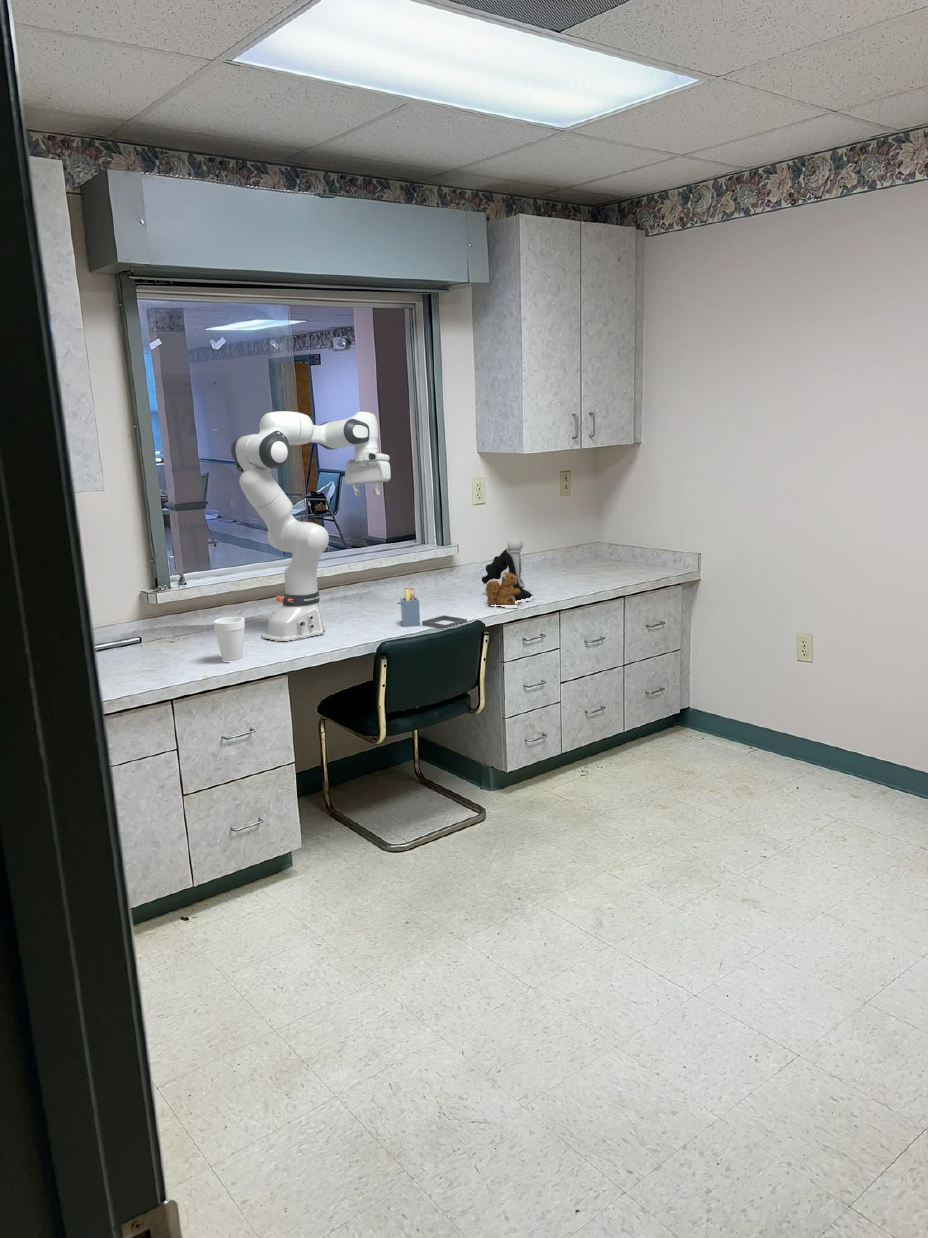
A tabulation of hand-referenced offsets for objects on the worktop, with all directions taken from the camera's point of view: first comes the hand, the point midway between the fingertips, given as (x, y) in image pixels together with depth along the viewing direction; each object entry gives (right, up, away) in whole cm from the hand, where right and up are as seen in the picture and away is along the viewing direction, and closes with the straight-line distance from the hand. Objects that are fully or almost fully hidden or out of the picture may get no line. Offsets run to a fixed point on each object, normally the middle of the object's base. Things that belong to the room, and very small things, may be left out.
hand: (367, 495), depth 337 cm
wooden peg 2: (+17, -47, -9) cm, 51 cm away
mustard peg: (+16, -47, -10) cm, 51 cm away
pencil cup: (+16, -48, -9) cm, 51 cm away
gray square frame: (+28, -48, -10) cm, 57 cm away
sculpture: (+52, -37, +34) cm, 73 cm away
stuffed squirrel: (+50, -40, +20) cm, 68 cm away
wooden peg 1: (+15, -47, -8) cm, 50 cm away
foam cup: (-38, -58, -47) cm, 84 cm away
